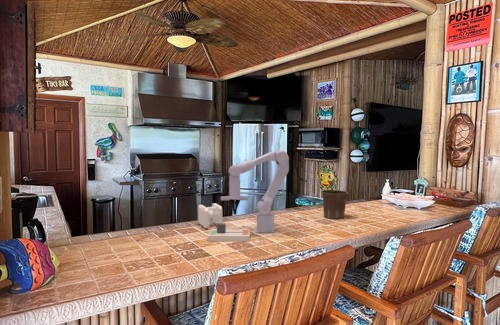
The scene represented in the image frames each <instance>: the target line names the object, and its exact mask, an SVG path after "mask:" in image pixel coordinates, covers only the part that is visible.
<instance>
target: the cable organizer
mask: <svg viewBox="0 0 500 325" xmlns="http://www.w3.org/2000/svg"><path fill="white" fill-rule="evenodd" d="M197 206H198V211H197V212H198V214H197V215H198V223H199V224H200V226H202V227H203V228H204V229H208V228H209V227H210V226H211V224H214V225H217V224H218V223H223V207H222V206H221V205H220V204H218V203H216V202H215V203H211V206H210V207H209V206H207V207H206V206H205V205H204V204H198V205H197Z"/></svg>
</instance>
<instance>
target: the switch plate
mask: <svg viewBox="0 0 500 325" xmlns="http://www.w3.org/2000/svg"><path fill="white" fill-rule="evenodd" d="M250 237H251V229H250V228H248V229H247V228H226V231H225V233H217V228H211V229H210V230H209V232H208V234H207V242H250V239H251V238H250Z"/></svg>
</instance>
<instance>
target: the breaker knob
mask: <svg viewBox="0 0 500 325" xmlns="http://www.w3.org/2000/svg"><path fill="white" fill-rule="evenodd" d="M226 226H227V224H226V222H222V223H218V224H216V229H217V233H225V231H226V229H227V228H226Z"/></svg>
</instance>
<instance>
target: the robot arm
mask: <svg viewBox="0 0 500 325" xmlns="http://www.w3.org/2000/svg"><path fill="white" fill-rule="evenodd" d="M268 161H271V162H273V161H274V162H275V163H276V165H277V168H278V171H277V172H276V174H275V175H274V177H273V179H272V180H271V183H270V185H269V187H268V188H267V190H266V193H265V194H264V195H263V196H262V197H261V199H260V200H259V201H258V202H257V203H256V209H257V212H256V227H255V233H275V228H276V227H275V215H274V214H272V213H271V208H272V205H273V201H274V199H275V197H276V195H277V193H278V191H279V190H280V188H281V186H282V184H283V182H284V180H285V178H286V177H287V175H288V173H289V171H290V165H289V164H290V162H289V161H290V156H289V155H288V153H287V152H286V151H285V150H279V149H278V150H277V149H276V150H275V151H274V150H273V151H271V152H266V153H265V154H262V155H260V156H259V157H256V158H254V159H250V158H248V159H247V158H245V159H244V160H243V161H241V162H239V163H238V162H236V163H235V164H234V165H231V166H230V167H229V169H228V174H229V176H228V177H229V180H228V187H229V189H228V190H229V192H228V194H229V195H226V196H220V201H229V205H230V206H231V209H232V214H233V215H235V216H236V215H237V213H238V212H237V211H238V207H239V205H240V202H241V201H248V202H249V200H250V197H249V195H248V196H245V195H241V179H240V177H241V176H240V175H243V174H245V173H247V172H249V171H252V170H254V168H255V166H257V165H260V164H263V163H265V162H268Z"/></svg>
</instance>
